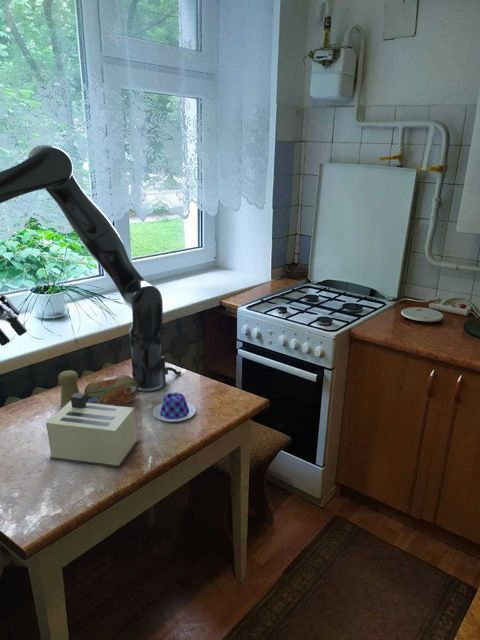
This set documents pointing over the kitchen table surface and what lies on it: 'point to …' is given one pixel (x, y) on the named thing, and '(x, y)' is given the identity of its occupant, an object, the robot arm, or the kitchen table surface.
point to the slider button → (78, 400)
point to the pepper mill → (68, 386)
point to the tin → (111, 390)
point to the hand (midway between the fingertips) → (15, 338)
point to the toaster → (92, 434)
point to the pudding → (174, 408)
